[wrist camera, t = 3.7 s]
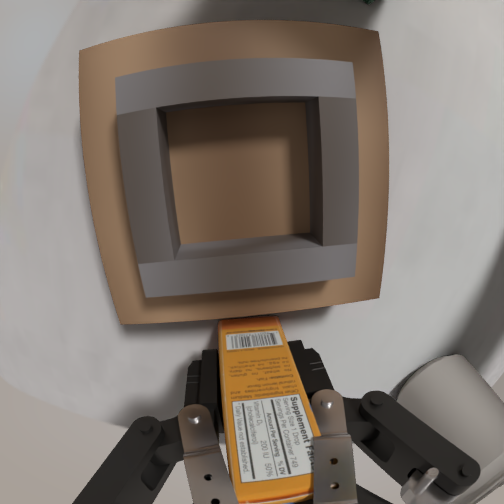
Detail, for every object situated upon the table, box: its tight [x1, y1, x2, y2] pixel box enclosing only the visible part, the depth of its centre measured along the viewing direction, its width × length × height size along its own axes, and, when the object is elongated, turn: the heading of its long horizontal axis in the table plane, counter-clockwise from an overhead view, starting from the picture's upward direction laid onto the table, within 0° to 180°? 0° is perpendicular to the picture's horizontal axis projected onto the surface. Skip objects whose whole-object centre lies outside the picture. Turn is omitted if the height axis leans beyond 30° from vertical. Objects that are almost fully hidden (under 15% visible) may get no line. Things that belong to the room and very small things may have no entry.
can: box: [397, 354, 504, 504], centre depth 14 cm, size 8×8×12 cm
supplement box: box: [218, 316, 336, 504], centre depth 11 cm, size 3×3×10 cm
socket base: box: [79, 20, 389, 325], centre depth 10 cm, size 11×11×4 cm
